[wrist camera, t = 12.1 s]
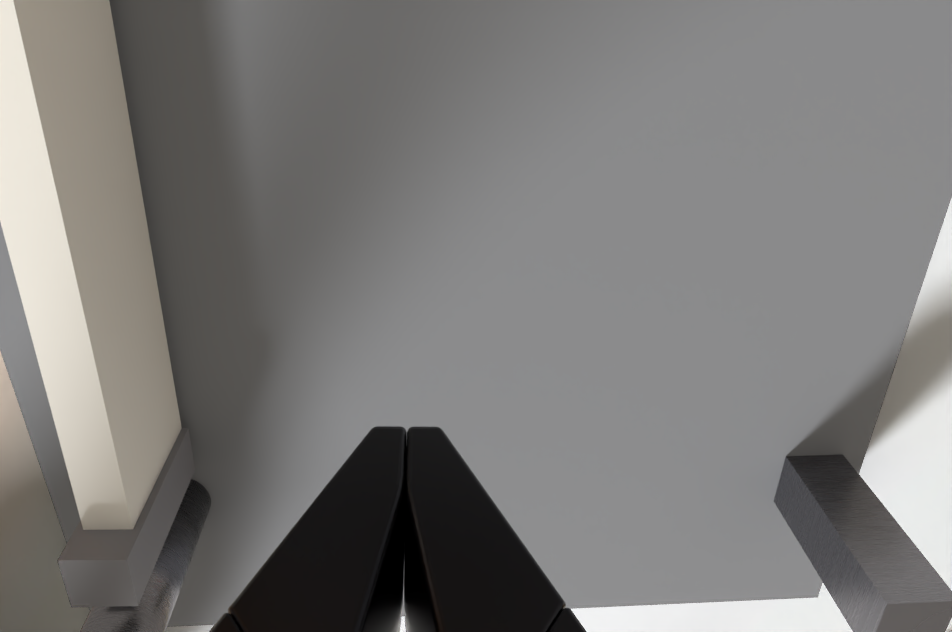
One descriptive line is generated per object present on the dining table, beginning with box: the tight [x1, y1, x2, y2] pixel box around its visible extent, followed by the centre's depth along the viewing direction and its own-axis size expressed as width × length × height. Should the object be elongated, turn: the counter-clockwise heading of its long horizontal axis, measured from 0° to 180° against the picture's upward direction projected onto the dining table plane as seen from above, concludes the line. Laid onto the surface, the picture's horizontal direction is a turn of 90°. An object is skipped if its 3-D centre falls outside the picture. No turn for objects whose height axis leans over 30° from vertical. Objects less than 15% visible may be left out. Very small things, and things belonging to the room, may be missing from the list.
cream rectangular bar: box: [0, 0, 195, 607], centre depth 16 cm, size 18×2×5 cm, turn 177°
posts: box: [80, 454, 952, 632], centre depth 19 cm, size 26×14×6 cm, turn 89°
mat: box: [0, 0, 952, 627], centre depth 21 cm, size 27×26×1 cm
